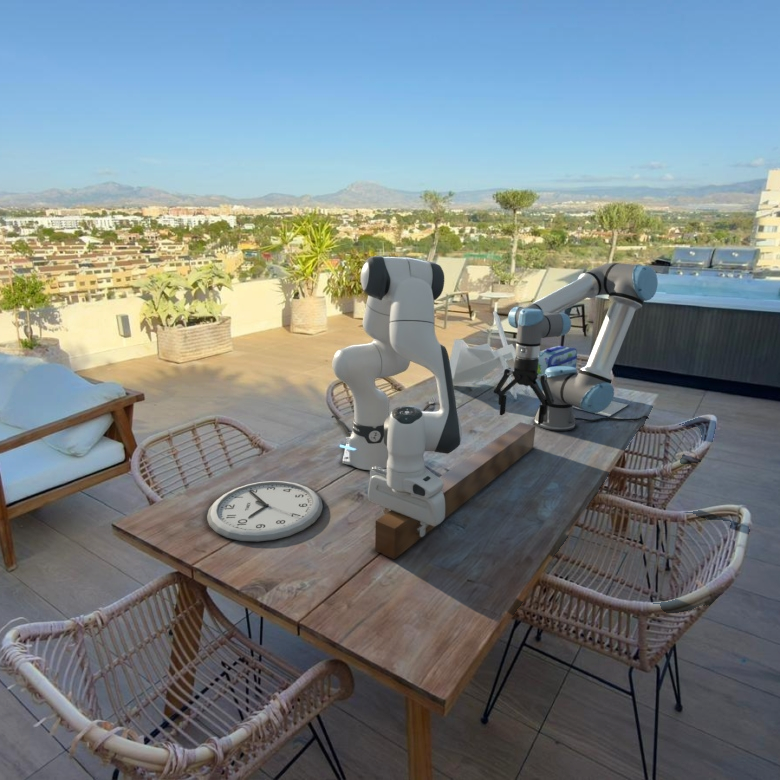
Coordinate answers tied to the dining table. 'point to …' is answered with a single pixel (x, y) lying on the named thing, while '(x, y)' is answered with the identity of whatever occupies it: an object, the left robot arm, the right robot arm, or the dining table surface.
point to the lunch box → (555, 359)
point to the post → (457, 487)
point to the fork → (430, 403)
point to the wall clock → (264, 511)
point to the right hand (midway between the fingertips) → (520, 418)
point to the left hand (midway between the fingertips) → (404, 528)
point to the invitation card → (610, 408)
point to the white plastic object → (481, 360)
